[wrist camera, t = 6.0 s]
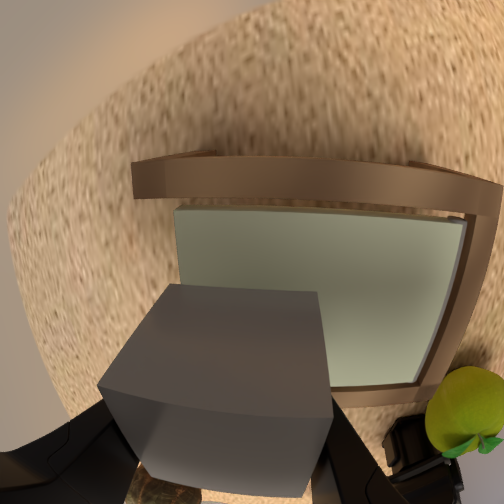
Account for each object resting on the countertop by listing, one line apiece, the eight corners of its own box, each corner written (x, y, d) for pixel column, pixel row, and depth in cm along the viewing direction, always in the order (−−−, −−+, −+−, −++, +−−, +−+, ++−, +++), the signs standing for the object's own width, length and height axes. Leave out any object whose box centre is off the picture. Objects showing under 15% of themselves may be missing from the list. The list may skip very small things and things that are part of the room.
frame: (427, 163, 17) (503, 185, 9) (397, 324, 21) (431, 399, 14) (194, 151, 18) (130, 162, 10) (205, 318, 23) (171, 395, 15)
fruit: (451, 408, 25) (474, 469, 16) (400, 402, 25) (421, 478, 16) (498, 354, 22) (536, 414, 13) (453, 339, 22) (497, 415, 12)
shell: (129, 437, 34) (101, 497, 23) (193, 446, 32) (171, 518, 21) (160, 469, 38) (141, 522, 27) (218, 476, 36) (204, 537, 25)
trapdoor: (460, 216, 11) (471, 223, 10) (414, 370, 14) (418, 382, 13) (181, 202, 12) (173, 208, 11) (200, 366, 15) (195, 378, 14)
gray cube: (317, 291, 9) (333, 417, 5) (302, 392, 11) (301, 497, 7) (169, 283, 10) (96, 384, 5) (187, 382, 12) (151, 476, 7)
